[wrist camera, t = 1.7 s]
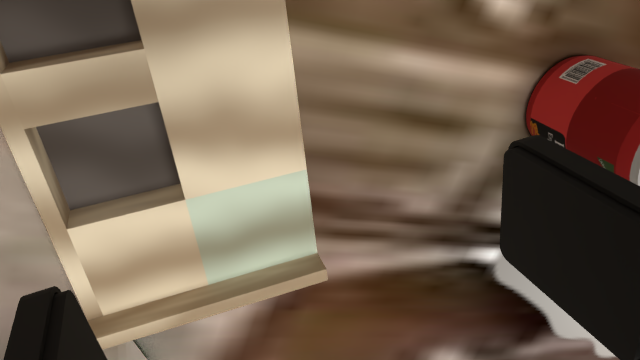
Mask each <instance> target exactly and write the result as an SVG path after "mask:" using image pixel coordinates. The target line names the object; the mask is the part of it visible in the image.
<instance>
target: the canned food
mask: <svg viewBox="0 0 640 360" xmlns="http://www.w3.org/2000/svg"><path fill="white" fill-rule="evenodd" d="M526 121H527V127H528V129H529V132H530V134H531V135H532V136H533V135H540V136H542V137H544V138H546V139H548V140H550V141H552V142H554V143H556V144H558V145H560V146H562V147H564V148H566V149H568V150H570V151H572V152H574V153H576V154H578V155H580V156H582V157H583V158H585V159H587V160H589V161H591V162H593V163H595V164H597V165H599V166H601V167H603V168H605V169H607V170H609V171H611V172H613V173H615V174H617V175H619V176H621V177H623V178H625V179H627V180H629V181H631V182H633V183H635V184H636V185H638V186H640V69H636V68H633V67H629V66H626V65H623V64H619V63H616V62H612V61H609V60H606V59H602V58H599V57H596V56H588V55H587V56H576V57H570V58H568V59H565V60H563V61H561V62H559V63H558V64H556V65H555V66H554V67H552V68H551V69H550V70H549V71H548V72H547V73H546V74H545V75H544V76H543V77H542V78H541V80H540V81H539V82H538V84H537V85H536V87H535V89H534V91H533V93H532V95H531V97H530V100H529V103H528V107H527V112H526Z"/></svg>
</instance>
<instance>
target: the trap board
mask: <svg viewBox="0 0 640 360" xmlns="http://www.w3.org/2000/svg"><path fill="white" fill-rule="evenodd" d="M0 127H1V129H2V132H3V134H4V136H5V138H6V141H7V143H8V145H9V147H10V149H11V152H12V154H13V156H14V158H15V161H16V163H17V165H18V167H19V169H20V172H21V174H22V176H23V178H24V181H25V183H26V185H27V187H28V189H29V192H30V194H31V196H32V198H33V201H34V203H35V205H36V207H37V209H38V212H39V214H40V216H41V218H42V221H43V223H44V225H45V227H46V229H47V232H48V234H49V236H50V238H51V241H52V243H53V245H54V247H55V249H56V252H57V254H58V256H59V258H60V260H61V263H62V265H63V267H64V269H65V272H66V274H67V276H68V278H69V280H70V283H71V285H72V287H73V289H74V292H75V294H76V296H77V298H78V300H79V303H80V305H81V307H82V309H83V312H84V314H85V316H86V318H87V320H88V323H89V325H90V327H91V329H92V331H93V333H94V334H95V336H96V338H97V340H98V342H99V344H100V346H101V348H102V350H103V349H106V348H109V347H113V346H116V345H119V344H122V343H126V342H129V341H132V340H135V339H139V338H142V337H145V336H148V335H152V334H155V333H158V332H161V331H165V330H168V329H171V328H174V327H177V326H181V325H184V324H187V323H190V322H194V321H197V320H200V319H203V318H207V317H210V316H213V315H216V314H220V313H223V312H226V311H229V310H232V309H236V308H239V307H242V306H245V305H249V304H252V303H255V302H258V301H262V300H265V299H268V298H271V297H275V296H278V295H281V294H284V293H287V292H291V291H294V290H297V289H300V288H304V287H307V286H310V285H313V284H317V283H320V282H323V281H326V280H328V279H327V270H326V268H325V266H324V264H323V262H322V261H321V259H320V257H319V255H318V254H317V248H316V240H315V232H314V224H313V216H312V208H311V200H310V192H309V185H308V177H307V169H306V161H305V153H304V145H303V137H302V130H301V122H300V114H299V106H298V98H297V90H296V82H295V74H294V67H293V59H292V51H291V43H290V35H289V27H288V19H287V12H286V4H285V0H0Z"/></svg>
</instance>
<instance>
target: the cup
mask: <svg viewBox="0 0 640 360" xmlns="http://www.w3.org/2000/svg"><path fill="white" fill-rule="evenodd" d="M103 352H104V354H105V356H106V358H107V360H147V359H146V357H145V356H144V355H143V353H142V352H141V351H140V349H139V348H138V347H137V345H136V344H135V343H134V341H133V340H132V341H129V342H126V343H122V344H119V345H116V346H113V347H109V348H106V349H103Z"/></svg>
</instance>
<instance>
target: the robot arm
mask: <svg viewBox="0 0 640 360" xmlns="http://www.w3.org/2000/svg"><path fill="white" fill-rule="evenodd" d="M500 249H501V252H502V254H503V256H504V257H505V259H506V260H507V261H508V262H509V263H510V264H511V265H513V266H514V267H515V268H516V269H517V270H518V271H519V272H521V273H522V274H523V275H524V276H525V277H526V278H527V279H529V280H530V281H531V282H532V283H533V284H534V285H535V286H537V287H538V288H539V289H540V290H541V291H542V292H543V293H545V294H546V295H547V296H548V297H549V298H550V299H551V300H553V301H554V302H555V303H556V304H557V305H558V306H559V307H561V308H562V309H563V310H564V311H565V312H566V313H567V314H568V315H570V316H571V317H572V318H573V319H574V320H575V321H576V322H578V323H579V324H580V325H581V326H582V327H583V328H584V329H586V330H587V331H588V332H589V333H590V334H591V335H592V336H594V337H595V338H596V339H597V340H598V341H599V342H600V343H602V344H603V345H604V346H605V347H606V348H607V349H608V350H610V351H611V352H612V353H613V354H614V355H615V356H616V357H618V358H619V359H620V360H640V186H638V185H636V184H635V183H633V182H631V181H629V180H627V179H625V178H623V177H621V176H619V175H617V174H615V173H613V172H611V171H609V170H607V169H605V168H603V167H601V166H599V165H597V164H595V163H593V162H591V161H589V160H587V159H585V158H583V157H582V156H580V155H578V154H576V153H574V152H572V151H570V150H568V149H566V148H564V147H562V146H560V145H558V144H556V143H554V142H552V141H550V140H548V139H546V138H544V137H542V136H540V135H533V136H530V137H527V138H523V139H520V140H517V141H514V142H512V143H511V144H510V146H509V149H508V150H507V151H506V152H505V154H504V165H503V187H502V208H501V230H500ZM4 360H107V358H106V356H105V354H104V352H103V350H102V348H101V346H100V344H99V342H98V340H97V338H96V336H95V334H94V333H93V331H92V329H91V327H90V325H89V323H88V321H87V319H86V317H85V315H84V313H83V311H82V309H81V307H80V305H79V304H78V302H77V300H76V298H75V296H74V294H73V293H72V292H71V291H70V290H67V291H64V292H61V291H60V289H59V288H58V287H55V286H54V287H51V288H47V289H44V290H41V291H38V292H35V293H32V294H28V295H25V296H23V297H21V298H20V301H19V303H18V307H17V311H16V315H15V319H14V322H13V326H12V330H11V334H10V337H9V341H8V345H7V349H6V352H5V356H4Z"/></svg>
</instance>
